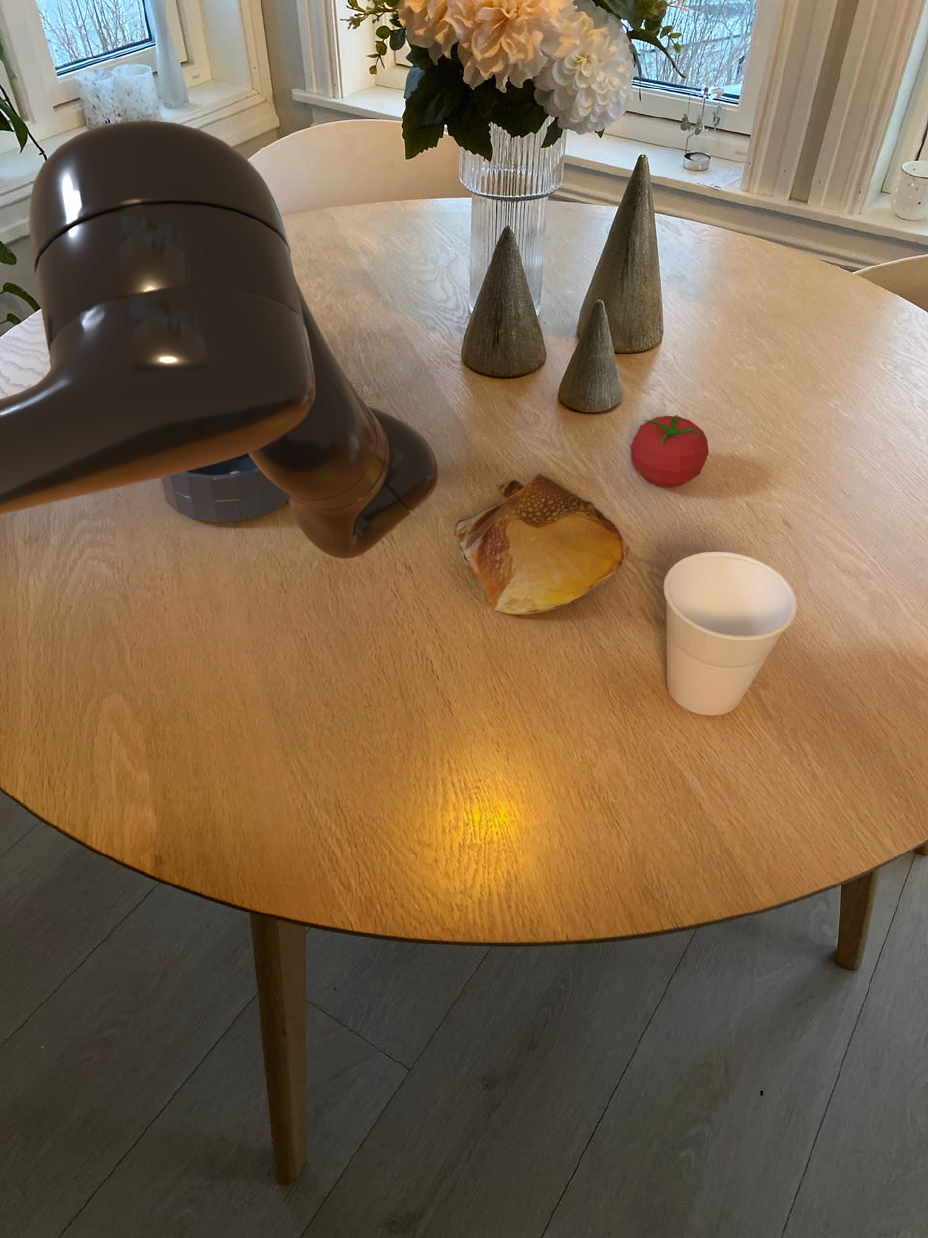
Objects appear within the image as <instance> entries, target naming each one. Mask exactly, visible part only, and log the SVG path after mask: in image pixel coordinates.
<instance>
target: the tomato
mask: <svg viewBox="0 0 928 1238" xmlns="http://www.w3.org/2000/svg"><path fill="white" fill-rule="evenodd" d="M644 422H645V423H643V424H641V425H640V426H639V428H638V430H637V432H636V433H635V435H634V436H633V439H632V441H631V444H630V456H631V457H630V458H631V462H632V464H633V465H632V466H633V467H634V469H635V470H636V471H637V473H638V474H639V475H640V476H641V477H642V478H643V479H644V480H645V481H646V482H648V483H649V484H651V485H654V486H656V487H660V488H676V487H681V486H683V485H685V484H687V483H689V482H690V481H692V480H693V479H696V477H698V476H700V475H701V472H702V470H703V468H704V466H705V464H706V462H707V459H708V456H709V453H710V452H709V443H708V438H707V436H706V435H705V431H704V430H702V428H700V427H699V426H698V425H697V424H695V423H694V422H693V421H691V420H690V419H686V418H684V417H681V416H678V414H676V415H662V416H657V417H654V418H652V419H649V420H648V419H645V420H644Z"/></svg>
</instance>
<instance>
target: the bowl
mask: <svg viewBox="0 0 928 1238" xmlns="http://www.w3.org/2000/svg"><path fill="white" fill-rule="evenodd" d="M158 480H159V485H160V489H161V492H162V494H163V496H164V499H165V502H166V503H167V504H168V505H169V506H170V507H172V508H173V509H174V510H175V511H176V512H178V513H179V514H181V515H184V516H186V517H190V518H192V519H194V520H198V521H204V522H205V521H206V522H213V523H229V522H230V523H231V522H242V521H245V520H250V519H253V518H257V517H261V516H264V515H267V514H268V513H270V512H273V511H275V510H276V509H279V508H280V507H283V506H284V505H285V504H286V503H287V502H288V500H287V495H286V492H284V491H283V490H281V489H280V488H279V487H277V486H276V485H275V484H274V483H272V482H271V481H270V480H269V479H268V478H267V477H266V476H265V475H264V474H263V473H262V472H261V471H260V469H259V468H258V467H257V466H256V465H255V463H254V462H253V461H252V459H251V458H250V457H249V458H244V459H230V460H227V461H223V462H220V463H217V464H213V465H209V466H205V467H201V468H197V469H193V470H189V471H185V472H182V473H178V474H174V475H170V476H165V477H161V478H158Z"/></svg>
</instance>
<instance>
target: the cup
mask: <svg viewBox="0 0 928 1238" xmlns="http://www.w3.org/2000/svg"><path fill="white" fill-rule="evenodd" d="M663 594H664V598H665V604H666V605H665V607H666V609H665V610H666V611H665V613H666V617H665V618H666V619H665V620H666V688H667V690H668V693H669V695H670V696H671V698H672V700H673V701H674V702H675V703H676V704H678V705H679V706H680V707H682V708H683V709H685V710H687V711H688V712H691V713H693V714H697V715H701V716H709V717H711V716H712V717H714V716H722V715H725V714H728V713H730V712H732V711H733V710H734V709H736V708H737V707H738V705H739V704H740V703H741V702H742V700H743V698H744V696H746V693H747V692H748V690H749V689H750V686H751V685H752V684H753V681H754V680H755V678H756V677H757V675H758V673H759V672H760V670H761V668H762V666H764V663H765V662H766V660H767V659H768V657H769V655H770V654H771V652H772V651H773V649H774V648H775V646H776V644H777V642H778V641H779V639H780V637H781V636H782V634H783V633H784V631H785V630H786V629H787V628H788V627H790V626H791V624H792V623H793V621H794V620H795V618H796V616H797V612H798V599H797V595H796V592H795V590H794V588H793V586H792V585H791V584H790V582H789V581H788V580H787V578H786V577H784V576H783V574H781V573H780V572H779V571H778V570H776V569H775V568H774V567H772V566H771V565H769V564H767V563H765V562H763V561H761V560H758V559H756V558H754V557H752V556H749V555H748V556H747V555H744V554H740V553H737V552H730V551H704V552H698V553H695V554H691V555H688V556H687V557H685V558H682V559H680V560H679V561H678V562H676V563H675V564H674V565H673V566H672V567H671V568H670V569H669V570H668V571H667V573H666V576H665V577H664V581H663Z"/></svg>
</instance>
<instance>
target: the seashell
mask: <svg viewBox="0 0 928 1238" xmlns="http://www.w3.org/2000/svg"><path fill="white" fill-rule="evenodd" d="M496 487H497V489H498V492H499V494H500V495H502V496H503V497H505V499H503V500H502V501H500V503H498V504H497V505H495V506H492V507H489V508H487V509H485V510H482V511H481V512H479V513H478V514H476V515H474V516H472V517H469V518H463V519H458V520H457V521H454V526H453V529H452V530H453V535H454V538H455V541H456V546H457V548H458V550H459V551H460V554H461V557H462V560H463V562H464V564H465V566H466V567H467V569H468V571H469V573H470V574H471V575H472V576H473V578H474V579H475V581H476V582H477V584H478V586H479V589H480V593H481V598H482V601H483V602H484V603H485V604H486V605H487V606H488V608H491V609H492V610H494V611H496V612H500V613H504V614H507V615H525V616H527V615H532V614H538V613H543V612H546V611H551V610H555V609H559V608H561V607H564V606H567V605H568V604H570V603H571V602H573V601H574V600H577V599H580V598H583V597H584V596H586V595H588V594H589V593H590V592H592V591H593V590H595V589H597V588H599V587H600V586H602V585H604V584H605V583H607V582H608V581H609V580H610V579H611V578H612V577H613V576H614V575H615V574H616V573H617V572H618V571H619V569H620V568H622V566H623V564H624V561H625V558H626V556H628V555H629V554H630V550H631V546H629V544H626V543H625V541H624V539H623V537H622V535H621V533H620V531H619V529H618V528H617V527H616V525H615V524H614V522H612V521H611V520H610V519H609V518H607V517H606V516H605V514H604V513H603V512H601V510H599V509H597V508H596V507H595V506H594V503H593V502H591V501H587V500H584V499H583V498H581V497H579V495H577V494H575V493H573V492H572V491H570V490H568V489H566V488H565V487H563V486H562V485H561V484H559V483H557V481H554V480H553V479H550V478H549V477H547V476H545V475H543V474H541V473H537V474H536V476H535V478H533V480H531V481H530V482H529V483H528V484H527V485H526V486H525V485H522V484H521V483H520V482H519V481H518V480H515V479H513V480H511V481H509V482H508V483H506V484H499V483H497V484H496Z"/></svg>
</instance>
